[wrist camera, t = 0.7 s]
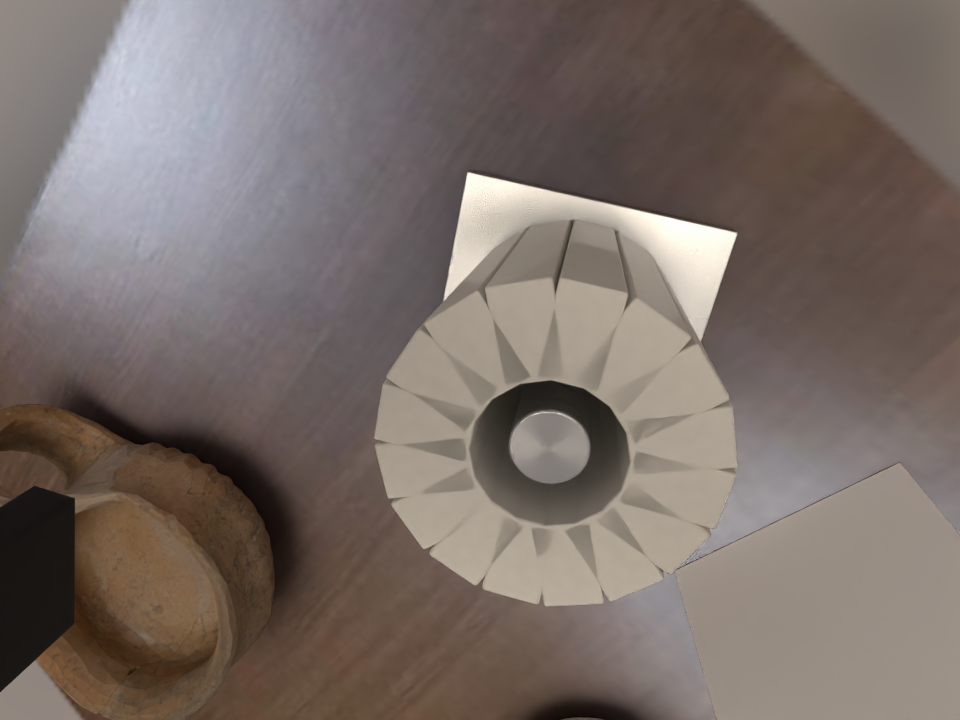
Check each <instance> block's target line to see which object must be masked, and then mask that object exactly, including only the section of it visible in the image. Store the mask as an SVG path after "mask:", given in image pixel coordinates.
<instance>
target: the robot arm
mask: <svg viewBox="0 0 960 720" xmlns="http://www.w3.org/2000/svg"><path fill="white" fill-rule="evenodd" d="M74 619H75V498H73V497H70V496H66V495H63V494H59V493H56V492H53V491H49V490H46V489H43V488H39V487H36V486H34V487H32V488H31V489H29V490H27V491H26V492H24V493H22V494H21V495H19V496H17V497H16V498H14V499H13V500H11V501H9V502H8V503H6V504H4V505H3V506H1V507H0V692H1V691H2V690H3V689H4V688H5V687H6V686H7V685H8V684H10V683H11V682H12V681H13V680H14V679H15V678H16V677H17V676H18V675H19V674H20V673H21V672H22V671H24V670H25V669H26V668H27V667H28V666H29V665H30V664H31V663H32V662H33V661H35V660H36V659H37V658H38V657H39V656H40V655H41V654H42V653H43V652H44V651H45V650H46V649H48V648H49V647H50V646H51V645H52V644H53V643H54V642H55V641H56V640H57V639H58V638H60V637H61V636H62V635H63V634H64V633H65V632H66V631H67V630H68V629H69V628H70V627H71V626H73V625H74Z"/></svg>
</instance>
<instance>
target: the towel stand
mask: <svg viewBox="0 0 960 720" xmlns="http://www.w3.org/2000/svg"><path fill="white" fill-rule="evenodd" d="M565 220H570V223H571V230H572V227H573V223H574V220H578V221H582V222H587V223H591V224H595V225H600V226H604V227H609V228H613V229H614V232H615V235H616V233H617V232H621V233H622V234H624V235H625V236H626V237H628V238H629V239H631V240H632V241H633V242H635V243H636V244H638V245H639V246H640V247H642V248H643V249H644V250H646V251H647V252H649V253H650V254H651V256H652V258H653V259H655V260H656V261H657V263H658V265H659V267H660V268H661V270H662V272H663V273H664V275H665V277H666V279H667V280H668V282H669V284H670V285H671V287H672V289H673V291H674V292H675V294H676V296H677V298H678V300H679V302H680V304H681V306H682V308H683V310H684V311H685V313H686V315H687V317H688V319H689V321H690V323H691V325H692V327H693V329H694V330H695V332H696V334H697V336H698V338H699V340H700V342H701V341H702V338H703V335H704V333H705V330H706V327H707V324H708V321H709V318H710V315H711V312H712V309H713V306H714V303H715V300H716V297H717V294H718V291H719V288H720V285H721V282H722V279H723V277H724V274H725V271H726V268H727V265H728V262H729V259H730V256H731V253H732V250H733V247H734V244H735V241H736V238H737V235H738V232H736V231H735V230H733V229H729V228H725V227H721V226H716V225H712V224H707V223H703V222H698V221H694V220H689V219H685V218H681V217H676V216H672V215H667V214H663V213H658V212H654V211H649V210H645V209H640V208H636V207H632V206H627V205H623V204H618V203H614V202H609V201H605V200H600V199H596V198H592V197H587V196H583V195H578V194H574V193H569V192H565V191H560V190H556V189H552V188H547V187H543V186H538V185H534V184H529V183H525V182H520V181H516V180H511V179H507V178H503V177H498V176H494V175H489V174H485V173H480V172H476V171H468V172H467V174H466V180H465V185H464V190H463V196H462V201H461V206H460V211H459V217H458V222H457V227H456V233H455V238H454V243H453V248H452V254H451V259H450V264H449V270H448V275H447V280H446V285H445V291H444V296H443V301H442V303H443V302H444V300H445V299H446V298H447V297H448V296H449V295H450V294H451V293H452V292H453V291H454V290H455V289H456V288H457V287H458V286H459V284H460V283H461V282H462V281H463V280H464V279H465V278H466V277H467V276H468V275H469V274H470V273H471V272H472V271H473V270H474V268H475V267H476V266H477V265H478V264H479V263H480V262H481V261H482V260H483V259H484V258H485V257H486V256H487V255H488V254H489V253H490V252H491V251H492V250H493V249H494V248H495V247H497V246H498V245H500V244H502V243H503V242H505V241H506V240H508V239H509V238H511V237H512V236H514V235H516V234H517V233H519V232H520V231H522V230H523V229H527V231H528V229H529V228H530V227H531V226H536V225H542V224H547V223H553V222H559V221H565ZM508 450H509V454H510V457H511V460H512V462H513V463H514V465H515V466H516V468H517V469H518V470H519V471H520V472H521V473H522V474H523V475H524V476H526V477H527V478H529V479H531V480H533V481H535V482H538V483H542V484H561V483H565V482H567V481H570V480H572V479H573V478H575V477H576V476H578V475H579V474H580V473H581V472H582V471H583V470H584V469H585V467H586V466H587V464H588V462H589V460H590V457H591V450H592V394H591V393H590V392H588V391H587V390H585V389H584V388H580V387H576V386H572V385H568V384H564V383H560V382H556V381H552V380H549V381H541V382H533V383H525V384H524V386H523V390H522V393H521V397H520V400H519V404H518V407H517V410H516V414H515V417H514V421H513V424H512V428H511V431H510V435H509V439H508Z"/></svg>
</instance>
